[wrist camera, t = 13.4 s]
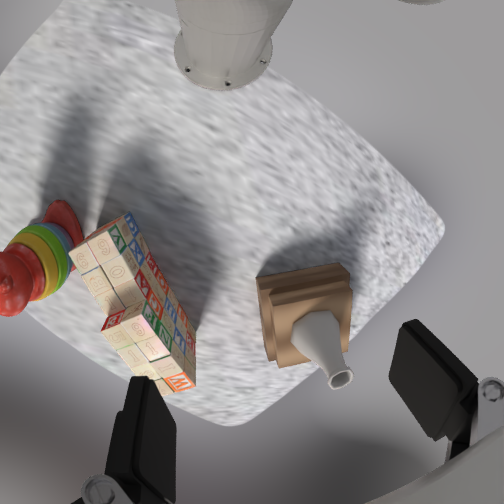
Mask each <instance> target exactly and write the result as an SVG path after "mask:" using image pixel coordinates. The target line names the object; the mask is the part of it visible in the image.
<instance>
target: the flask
mask: <svg viewBox="0 0 504 504" xmlns="http://www.w3.org/2000/svg"><path fill="white" fill-rule="evenodd" d="M290 342H291V343H292V344H293V345H294V346H295V347H296V348H297V349H298V351H299V352H300V353H301V354H303V355H304V356H306V357H307V358H308V359H310V360H311V361H313V362H314V363H315V364H316V365H318V366H319V367H320V368H322V370H323V371H324V372H325V374H326V375H327V377H328V385H329V386H330V387H331V388H332V389H333V390H334V389H339V388H343V387H344V386H346V385H348V384H349V383H351V382H352V379H353V376H354V373H353V371H352V370H351V369H350V367H347V366H346V364H345V361H344V359H343V355H342V348H341V340H340V328H339V322H338V321H337V319H336V318H335V316H334V315H333V313H332V312H331V310H327V311H317V312H310V313H308V314H307V315H306V316H304V317H303V318H301V319H300V320H298V321H297V322H295V323H294V324H292V332H291V341H290Z"/></svg>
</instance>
